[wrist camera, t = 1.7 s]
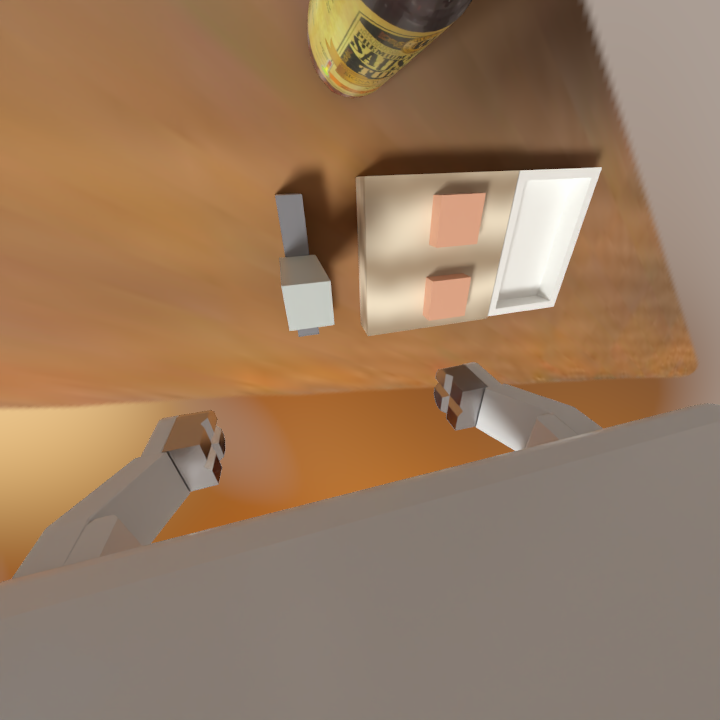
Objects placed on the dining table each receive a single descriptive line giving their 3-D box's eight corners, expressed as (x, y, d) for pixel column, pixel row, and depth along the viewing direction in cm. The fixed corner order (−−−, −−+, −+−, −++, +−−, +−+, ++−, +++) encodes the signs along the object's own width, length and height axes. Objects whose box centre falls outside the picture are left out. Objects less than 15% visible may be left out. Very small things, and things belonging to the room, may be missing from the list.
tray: (501, 171, 27) (520, 170, 25) (578, 168, 29) (601, 167, 27) (475, 308, 35) (487, 316, 33) (537, 299, 37) (553, 306, 35)
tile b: (426, 277, 28) (433, 281, 27) (462, 273, 29) (471, 277, 27) (422, 315, 30) (428, 321, 29) (456, 310, 31) (464, 315, 30)
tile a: (433, 194, 24) (442, 195, 23) (475, 192, 25) (486, 192, 24) (428, 244, 26) (436, 247, 25) (467, 241, 27) (477, 244, 26)
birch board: (355, 177, 25) (364, 176, 22) (497, 171, 27) (519, 170, 25) (360, 324, 32) (368, 336, 30) (471, 308, 35) (486, 318, 32)
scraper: (268, 194, 24) (265, 201, 15) (304, 192, 24) (323, 198, 15) (292, 324, 30) (299, 385, 21) (320, 321, 31) (339, 378, 22)
